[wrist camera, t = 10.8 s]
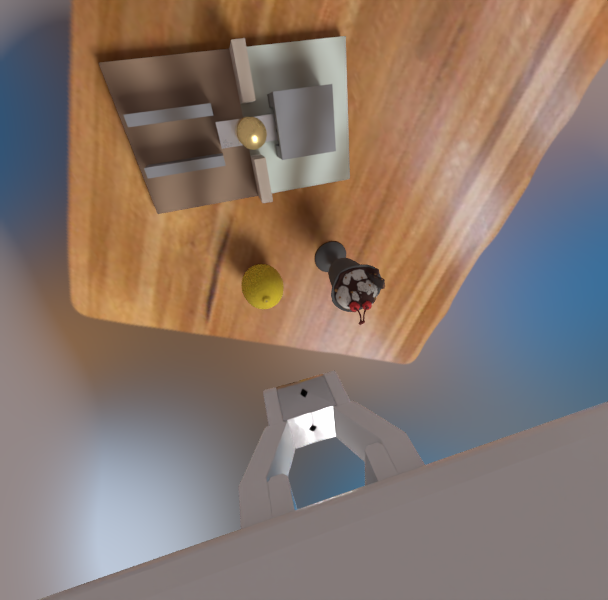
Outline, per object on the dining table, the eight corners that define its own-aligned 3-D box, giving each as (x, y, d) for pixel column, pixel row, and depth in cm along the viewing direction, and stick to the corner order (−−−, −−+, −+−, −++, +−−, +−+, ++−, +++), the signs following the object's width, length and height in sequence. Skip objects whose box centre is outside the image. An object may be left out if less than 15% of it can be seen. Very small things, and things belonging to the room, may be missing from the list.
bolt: (221, 148, 33) (223, 154, 27) (215, 121, 31) (214, 121, 26) (325, 132, 34) (346, 134, 29) (323, 105, 33) (345, 102, 27)
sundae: (307, 277, 46) (341, 337, 33) (311, 235, 42) (351, 285, 30) (347, 276, 47) (393, 333, 35) (354, 236, 44) (408, 282, 31)
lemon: (233, 263, 41) (236, 291, 35) (270, 250, 42) (280, 274, 35) (248, 294, 44) (253, 325, 38) (282, 282, 45) (294, 310, 38)
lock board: (159, 211, 36) (151, 224, 31) (102, 64, 28) (81, 55, 24) (346, 177, 39) (362, 184, 35) (341, 38, 31) (361, 26, 27)
